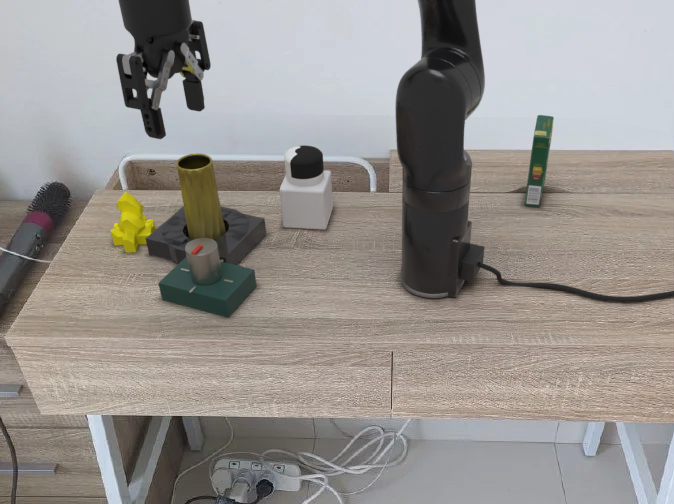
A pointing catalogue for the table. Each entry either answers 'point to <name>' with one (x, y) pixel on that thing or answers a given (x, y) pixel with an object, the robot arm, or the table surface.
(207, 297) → the panel
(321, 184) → the medicine bottle
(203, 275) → the grey rotary knob
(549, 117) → the coffee box
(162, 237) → the square flange with hole
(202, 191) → the vase
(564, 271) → the table surface
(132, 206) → the yellow faceted cluster
